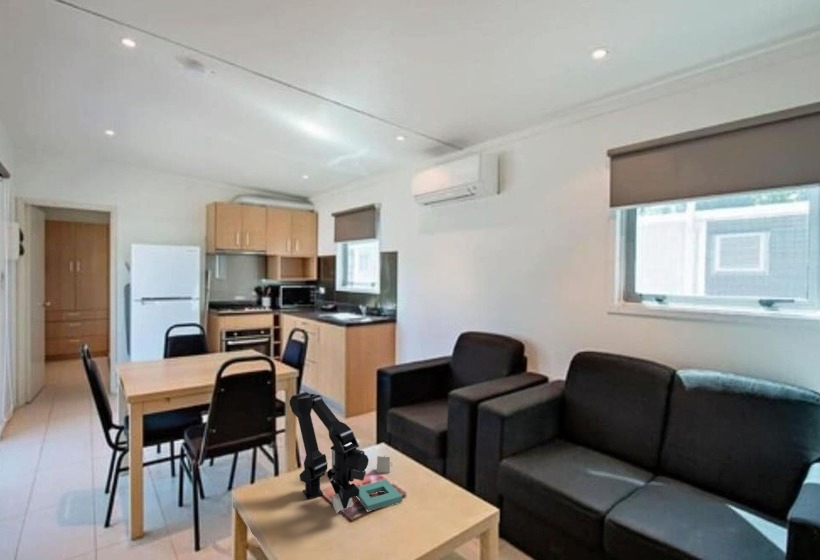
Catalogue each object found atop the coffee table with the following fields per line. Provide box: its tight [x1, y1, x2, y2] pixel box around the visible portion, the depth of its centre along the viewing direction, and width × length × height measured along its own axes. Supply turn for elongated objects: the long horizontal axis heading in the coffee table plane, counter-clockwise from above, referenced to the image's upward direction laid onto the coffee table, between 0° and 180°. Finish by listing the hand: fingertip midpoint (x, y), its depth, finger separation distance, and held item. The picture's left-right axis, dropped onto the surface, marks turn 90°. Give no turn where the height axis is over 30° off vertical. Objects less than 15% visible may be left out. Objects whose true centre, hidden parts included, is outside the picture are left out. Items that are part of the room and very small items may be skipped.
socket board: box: [357, 479, 403, 511], centre depth 161 cm, size 14×14×2 cm
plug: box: [332, 493, 353, 514], centre depth 154 cm, size 4×6×5 cm, turn 119°
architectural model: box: [376, 454, 395, 474], centre depth 182 cm, size 3×7×7 cm, turn 82°
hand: (342, 504), depth 154 cm, fingers open, 5 cm apart
